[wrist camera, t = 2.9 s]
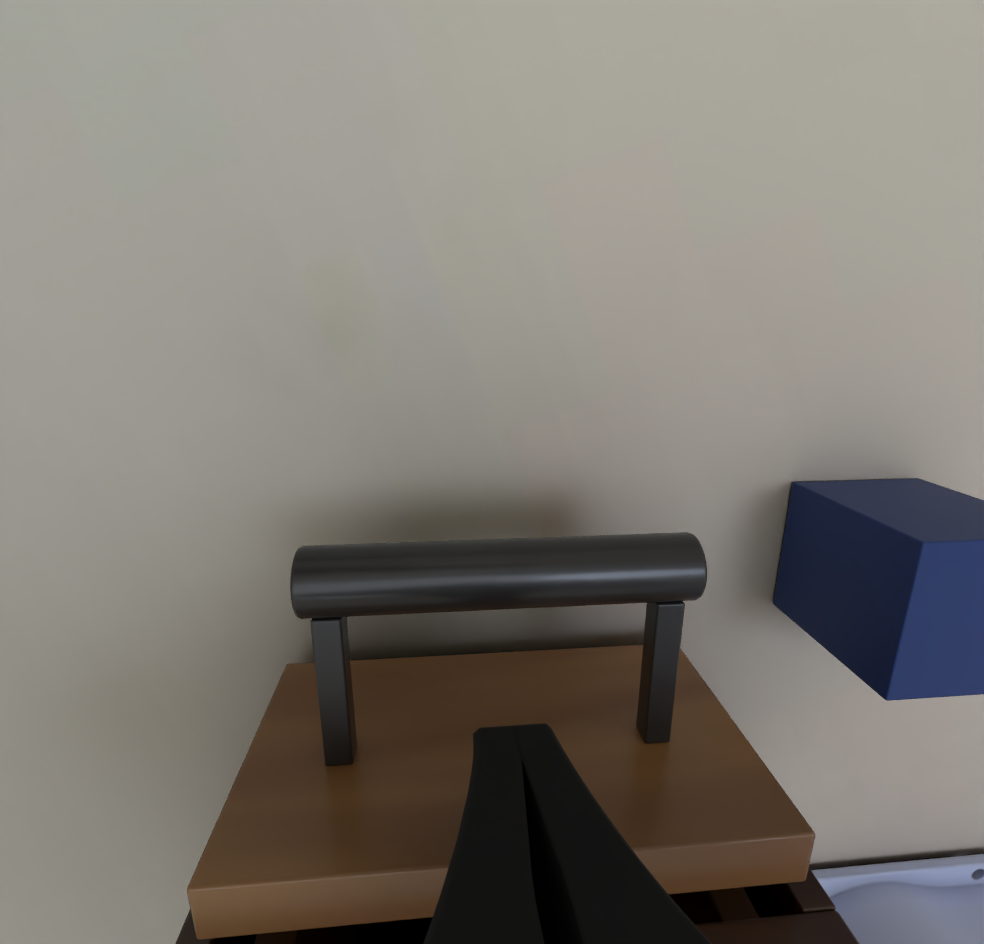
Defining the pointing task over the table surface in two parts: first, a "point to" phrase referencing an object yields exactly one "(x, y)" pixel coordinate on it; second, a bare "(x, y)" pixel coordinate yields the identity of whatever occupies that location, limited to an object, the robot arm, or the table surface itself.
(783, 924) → the cabinet
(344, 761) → the drawer
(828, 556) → the blue box
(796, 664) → the table surface
